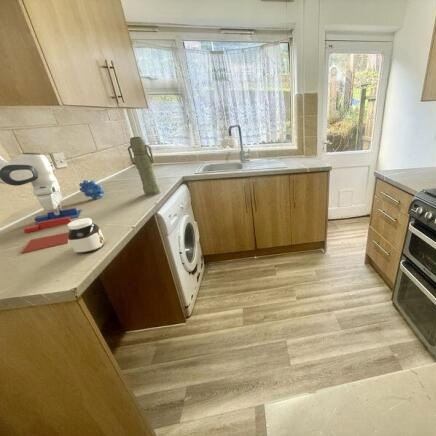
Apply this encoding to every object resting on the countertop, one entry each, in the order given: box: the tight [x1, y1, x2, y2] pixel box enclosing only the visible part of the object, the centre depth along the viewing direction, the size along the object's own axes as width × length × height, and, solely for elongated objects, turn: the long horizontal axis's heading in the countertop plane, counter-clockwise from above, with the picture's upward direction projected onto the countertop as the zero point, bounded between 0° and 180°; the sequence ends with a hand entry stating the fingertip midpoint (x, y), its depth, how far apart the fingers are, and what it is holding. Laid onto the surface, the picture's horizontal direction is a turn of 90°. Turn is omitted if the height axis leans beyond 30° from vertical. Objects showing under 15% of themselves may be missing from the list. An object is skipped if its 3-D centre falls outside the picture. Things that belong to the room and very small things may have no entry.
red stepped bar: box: [23, 217, 72, 234], centre depth 112 cm, size 16×4×3 cm, turn 122°
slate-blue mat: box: [34, 209, 83, 225], centre depth 123 cm, size 16×12×1 cm
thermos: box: [127, 136, 161, 197], centre depth 147 cm, size 9×12×35 cm
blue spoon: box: [34, 207, 78, 223], centre depth 122 cm, size 16×4×3 cm, turn 122°
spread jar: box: [66, 217, 105, 255], centre depth 91 cm, size 12×11×12 cm
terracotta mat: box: [20, 231, 69, 255], centre depth 100 cm, size 16×12×1 cm
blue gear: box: [78, 179, 105, 200], centre depth 147 cm, size 12×7×12 cm, turn 108°
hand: (58, 213), depth 122 cm, fingers closed
